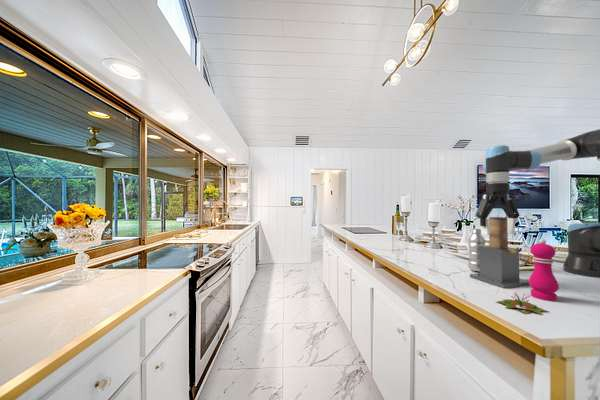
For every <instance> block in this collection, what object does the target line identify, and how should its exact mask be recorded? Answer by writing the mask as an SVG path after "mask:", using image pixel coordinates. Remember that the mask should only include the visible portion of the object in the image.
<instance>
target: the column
mask: <svg viewBox="0 0 600 400" xmlns="http://www.w3.org/2000/svg"><path fill="white" fill-rule="evenodd" d="M507 218H508V217H503V216H502V217H500V216H495V217H494V216H493V217H491V216H488V219H489V237H488V239H489V241H488V242H489V244H488V246H489V247H493V248H498V249H506V248H508V247H509V242H508V241H509V240H508V239H509V238H508V235H509V234H508V228H507Z"/></svg>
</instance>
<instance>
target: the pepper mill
mask: <svg viewBox="0 0 600 400" xmlns="http://www.w3.org/2000/svg"><path fill="white" fill-rule="evenodd" d="M530 254H531V255H533V256H532V262H534V268H533V270H532V273H531V275H530V276H529V278H528V281H529V285H530V287H531V288H532V289H530V297H533V298H536V299H538V300H541V301H542V300H543V301H546V302H547V301H549V302H554V301H555V302H556V301H557V300H558V298H557V297H558V295H557V293H556V292H557V291H558V290H559V289H560V288H559V283H558V281H557V279H556V277H555V276H554V273H553V268H552V264H553V263H554V259H553V257H555V255H556V250H555V248H554V247H553V246H552V245H550V244H547V240H546V239H544V238H541V239H540V238H539V240H538V243H534V244H533V245H532V246H531V247H530Z"/></svg>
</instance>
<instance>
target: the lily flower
mask: <svg viewBox="0 0 600 400" xmlns="http://www.w3.org/2000/svg"><path fill="white" fill-rule="evenodd" d="M525 295H526V293H524V294H523V296H520V295H518V293H517V292H513V296H511V298H513V299H509V298H508V299H502V300H497V301H495V303H499V304H502V305H505V309H510V308H511V309H512V308H514V309H516V310H517V311H519V312H521V313H522V314H523V315H525V314H528V313H531V311H532V312H533V313H535V314H536V313H537V314H539V315H541V316H543V313H542V312H548V313H549V312H550V311H548V310H546V309H543V308H542V307H541V308H540V307H537V305H536V304H533V303H530V302H529V301H530V299H527V298H529V297H530V295H528V296H526V297H524V296H525ZM526 299H527V300H526ZM523 307H525V310H524V311H523V310H522V309H524V308H523Z"/></svg>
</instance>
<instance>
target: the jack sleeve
mask: <svg viewBox="0 0 600 400" xmlns="http://www.w3.org/2000/svg"><path fill="white" fill-rule="evenodd" d="M479 247H480V272H478V273H469V278H470V277H471V279H473V278H474V280H476V279H477V281H479V280H480V282H482V283H483V282H484V283H485V284H489V285H491V286H494V287H495V286H496V287H498V288H502V289H511V288H510V287H512V288H521V287H520V286H522V287H529V286H530V285H529V280H526V279H522V278H520V249H519V248H515V247H509V246H508V248H506V249H498V248H493V247H489V245H485V246H479ZM530 287H531V286H530Z"/></svg>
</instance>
